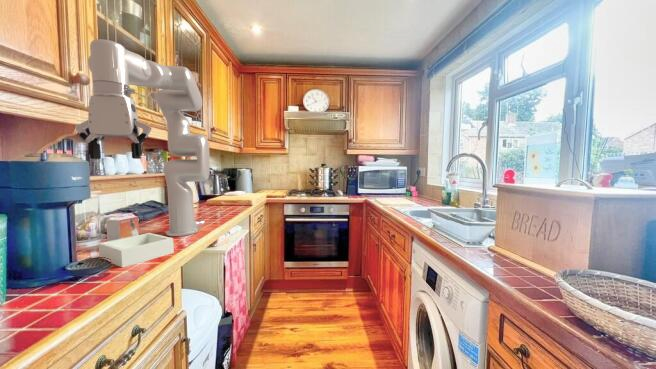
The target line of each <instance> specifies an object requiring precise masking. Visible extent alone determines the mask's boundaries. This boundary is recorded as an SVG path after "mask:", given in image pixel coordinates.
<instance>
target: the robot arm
mask: <svg viewBox="0 0 656 369" xmlns="http://www.w3.org/2000/svg"><path fill="white" fill-rule="evenodd" d="M89 52H90V53H89V54H90V55H89V57H88V59H87V64H88V68H89V71H90V72H91V79H92V80H91V83H92V95H90V99H89V102H88V104H89V105H88V113H87V114H88V115H87V117H88V118H87V120H85V121H82V122H81V123H78V124H77V125H75V127H74V128H75V130H76V132H77V133H78V134H79V137H80V138H82V139H83V140H84V141H85V143H87V144H88V145H87V146H88V154H89V158H90V159H91V160H100V159H102V156H101V152H102V151H101V145H100V143H98V142H99V141H100V140H101V139H102V138H103V137H106V138H129V139H130V140H131V141H132V143H131V144H130V146H131V147H130V149H131V158H132V159H133V160H134V159H135V160H136V159H137V160H138V159H139V160H140V159H141V158H142V155H143V150H142V149H143V148H142V144H144V141H146V140H147V139H148V138H149V135H150V133H151V131H152V127H151V126H150V125H146V124H145V123H143V122H141V121H139V115H138V111H137V106H136V103H135V100H134V99H133V98H131V97H132V96H131V95H134V94H136V89H134V88H131V87H130V85H131V86H137V87H143V88H152V89H153V88H154V89H157V91H156V92H155V102H156V104H157V106H158V108H159V110H160V111H161V113H162V114H163V117H164V118H165V120H166V125H167V151H168V153H169V154H170V155H172V156H175V157H195V158H196V159H194V158H193V159H192V158H191V159H188V158H185V159H184V158H181V159H178V158H177V159H171V160H170V159H169V160H168V161H166V162H165V163H164V164H163V174H164V177H165V182H166V190H167V204H168V206H167V208H168V228H169V229H167V230H166V231H165V236H166V237H168V236H169V237H183V236H189V235H193V234H196V233H198V232H199V231H200V230H199V226H202V225H205V220H195V211H194V210H195V209H194V208H195V207H194V192H193V189H192V188H191V186H190V185H189V184H188V183H189V182H191V183H192V182H194V183H195V182H205V181H208V179H209V178H210V173H211V172H210V171H211V170H210V167H211V165H210V143H209V139H208V137H207V136H206V135H204V134H202V133H201V134H200V133H191V123H190V120H189V119H188V118H187V117H186V116H185V115H184V114H183V112H198V111H200V110H201V109H202V108H203V99H202V98H203V97H202V94H201V92H200V89H199V86H198V84H197V81H196V78H195V77H194V75H193V72H191V70H190V69H189V68H187V67H186V66H179V65H163V64H160V63H158V62H155V61H152V60H149V59H145V57H143V56H142V55H140V54H138V53H136V52H133V51H131V50H129V49H126V48H125V46H123V44H121V43H119V42H117V41H113V40H109V39H104V38H96V39H93V40H92V41H91V42H90V44H89ZM87 129H88V130H89V133H88V132H87V131H86V130H87ZM141 129H142V131H141Z"/></svg>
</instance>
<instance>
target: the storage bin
mask: <svg viewBox="0 0 656 369" xmlns="http://www.w3.org/2000/svg"><path fill="white" fill-rule="evenodd" d="M97 245H98V255H99V256H98V258H99V257H106V258H109V259H111V261H112V263H113V264H112V263H111V264H112V265H114V264H115V266H117V267H121V268H125V267H129V266H133V265H136V264H140V263H143V262H146V261H147V262H148V261H150V260H154V259H157V258H161V257H165V256H167V255H171V254H174V252H175V250H174V249H175V248H174V238H173V237H171V236H169V237H168V236H166V235H161V234H156V233H151V232H146V233H143V234H139V235H136V236H131V237H127V238H122V239H117V240H112V241H103V242H99V243H98V244H97Z"/></svg>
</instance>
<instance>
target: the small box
mask: <svg viewBox="0 0 656 369" xmlns="http://www.w3.org/2000/svg"><path fill="white" fill-rule="evenodd" d="M105 224H106V238H107V239H106V240H107V241H112V240H117V239H122V238H127V237H131V236H136V235H140V226H139V224H140V223H139V216H137V215H125V216H120V217H116V218H111V219H106V220H105ZM107 241H106V242H107Z"/></svg>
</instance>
